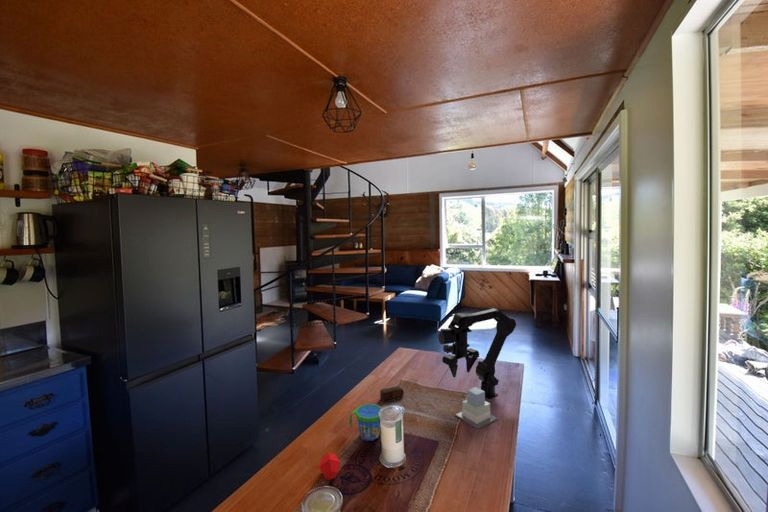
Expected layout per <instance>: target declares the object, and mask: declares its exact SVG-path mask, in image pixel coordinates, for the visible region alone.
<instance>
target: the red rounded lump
mask: <svg viewBox="0 0 768 512" xmlns="http://www.w3.org/2000/svg"><path fill="white" fill-rule="evenodd" d="M340 465H341V460H340V459H339V458H338V456H337V455H336V454H335V453H331V452H329V451H327V453H326V454H324V455H323V456H322V457H321V460H320V463H319V466H318V467H319V469H320V471H321V473H322V474H323V476H324V478H325V480H326V481H329V480H330V481H331V480H334V479H336V477H337V476H338V474H339V471H340V470H339V469H340V467H341V466H340Z"/></svg>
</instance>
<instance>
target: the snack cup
mask: <svg viewBox="0 0 768 512" xmlns="http://www.w3.org/2000/svg"><path fill="white" fill-rule="evenodd" d="M381 408H382V407H381V406H380V405H378V404H374V403H366V404H362V405H360V406H358V407H357V408H356V409H354V410H353V411H351V414H350V416H349V426H350V427H352V426H353V425H354V424H353V423H354V422H353V418H352V417H353V415H355V417H356V420H357V426H358V427H357V428H358V433H359V437H360V438H361V439H362V440H363V441H367V442H369V441H372V442H373V441H374V440H376V439H378V438H379V437H380V434H381V433H380V432H381V427H380V419H379V414H378V412H379V410H380V409H381ZM374 442H375V441H374Z"/></svg>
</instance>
